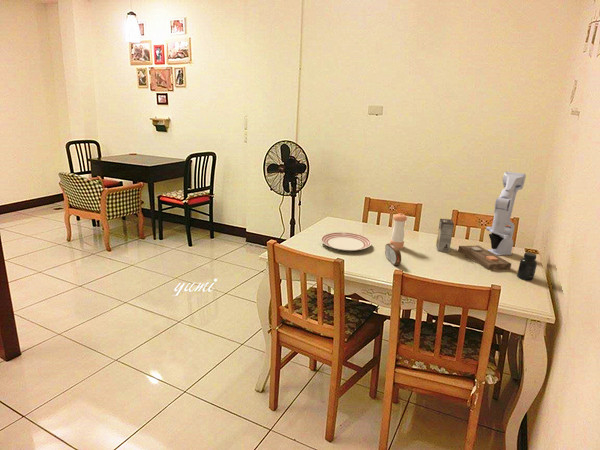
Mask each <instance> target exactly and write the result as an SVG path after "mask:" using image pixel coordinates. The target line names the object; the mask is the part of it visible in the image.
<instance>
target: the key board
mask: <svg viewBox="0 0 600 450" xmlns="http://www.w3.org/2000/svg"><path fill="white" fill-rule="evenodd" d="M471 247H478V248H480V249H482V251H481V252H475V251H473V250H471ZM457 252H459V253H460V254H462V255H463V256H466V257H467V258H468V259H470V260H471V261H473V262H474V263H476V264H478V265H480V266H481V267H483V268H484V269H486V270H488V271H498V270H499V271H500V270H501V271H504V270H511V268H512V263H511V262H509V261H507V260H506V259H504V258H502V257H500V255H496V254H494V253H492V252H490V251H488V249H486V248H484V247H482V246H480V245H459V246H458V249H457ZM486 256H494V257H496V258H498V261H490V260H488V259H486Z"/></svg>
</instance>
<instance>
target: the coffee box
mask: <svg viewBox="0 0 600 450" xmlns="http://www.w3.org/2000/svg"><path fill="white" fill-rule="evenodd" d="M454 227H455V223H454V221H453V219H450V218H439V225H438V229H437V230H438V231H437V237H436V242H435V243H436V244H435V246H436V250H437V251H439V252H444V253H445V252H446V253H450V250H451V244H452V238H453V233H454Z"/></svg>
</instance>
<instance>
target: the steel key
mask: <svg viewBox="0 0 600 450" xmlns="http://www.w3.org/2000/svg"><path fill="white" fill-rule="evenodd" d="M471 250H473V251H475V252H481V251H482V249H480V248H478V247H471Z"/></svg>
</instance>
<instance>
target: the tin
mask: <svg viewBox="0 0 600 450" xmlns="http://www.w3.org/2000/svg"><path fill="white" fill-rule="evenodd" d="M384 249H385V251H384V254H385V257H386V259H387V260H388V261H389V262H390V263H391V265H393V266H400V265H401V263H402V253H401V249H398V248H397V247H396V246H395V245H394V244H393V243H390V242H389V243H386V244H385V248H384Z"/></svg>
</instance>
